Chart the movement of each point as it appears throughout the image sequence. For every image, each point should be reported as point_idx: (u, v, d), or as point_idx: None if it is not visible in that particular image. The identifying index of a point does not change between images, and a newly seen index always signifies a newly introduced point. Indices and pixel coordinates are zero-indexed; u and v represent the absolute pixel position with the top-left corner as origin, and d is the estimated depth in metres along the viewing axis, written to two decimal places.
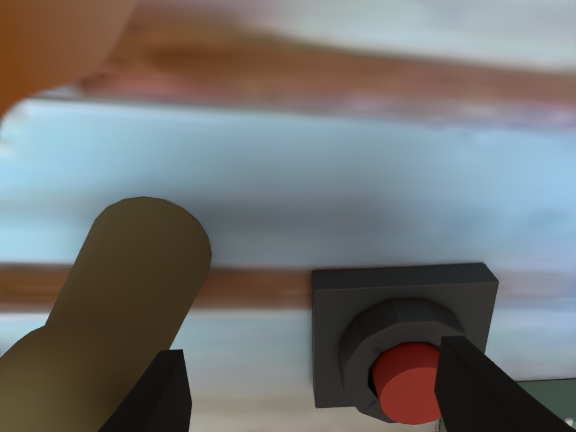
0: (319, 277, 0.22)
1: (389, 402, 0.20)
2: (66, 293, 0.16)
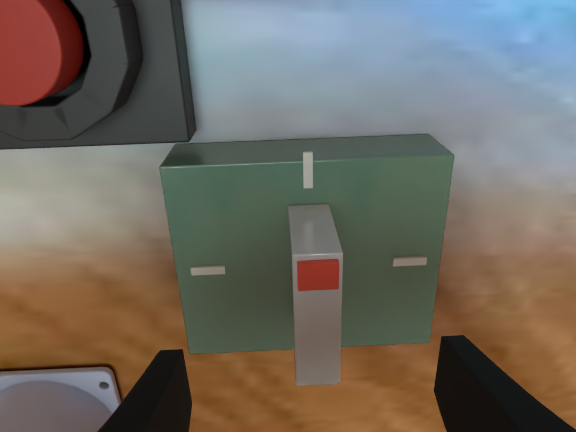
0: None
1: None
2: None
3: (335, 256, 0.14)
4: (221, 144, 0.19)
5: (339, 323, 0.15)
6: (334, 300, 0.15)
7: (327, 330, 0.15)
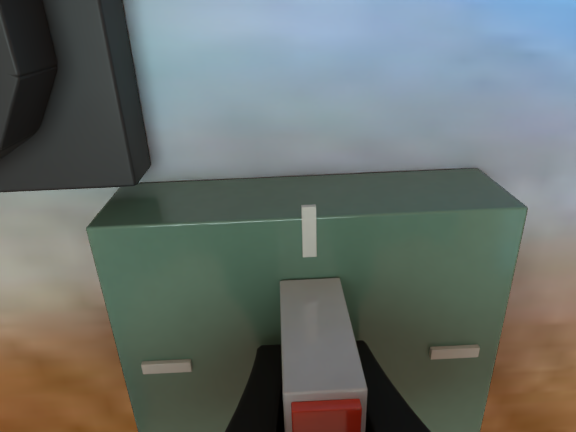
0: None
1: None
2: None
3: (355, 395, 0.08)
4: (186, 185, 0.13)
5: None
6: None
7: None
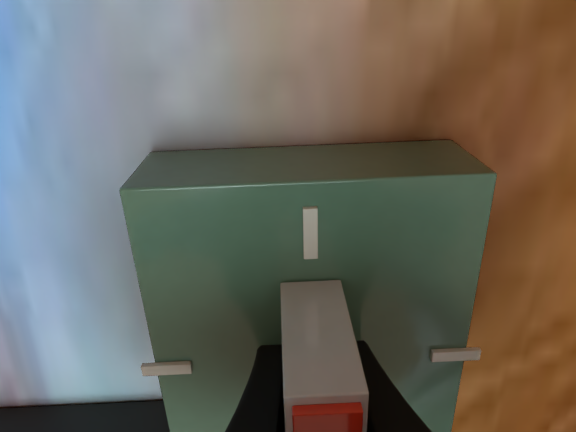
0: None
1: None
2: None
3: (356, 398, 0.08)
4: None
5: None
6: None
7: None
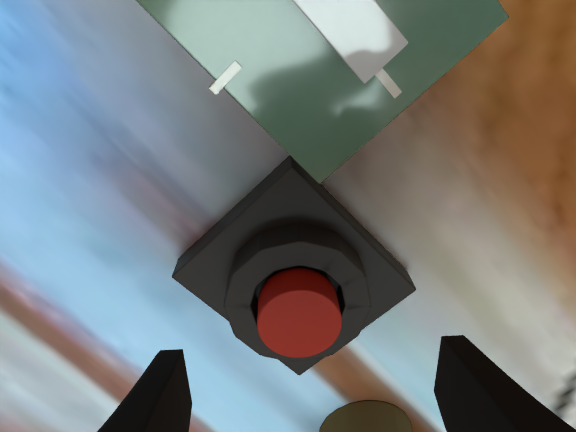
0: None
1: (324, 340, 0.19)
2: None
3: None
4: None
5: None
6: None
7: None
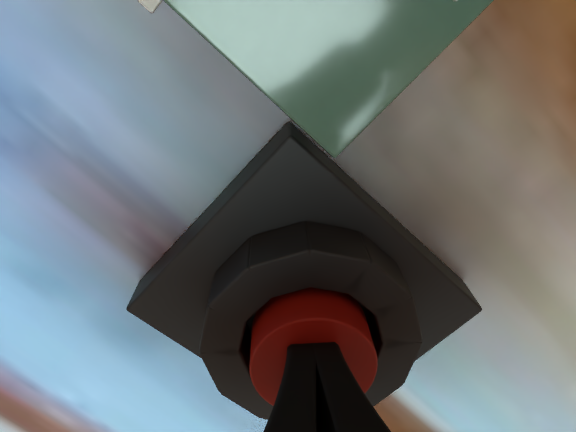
0: None
1: None
2: None
3: None
4: None
5: None
6: None
7: None
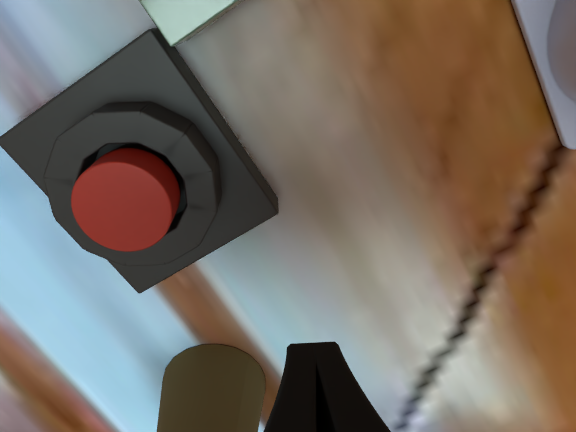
0: None
1: (150, 234, 0.17)
2: None
3: None
4: None
5: None
6: None
7: None
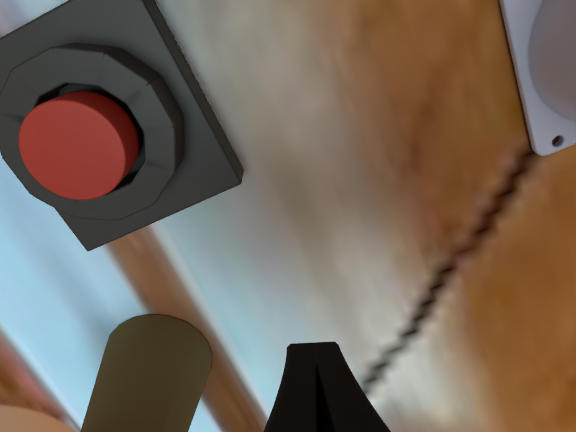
0: None
1: (100, 183, 0.16)
2: None
3: None
4: None
5: None
6: None
7: None
